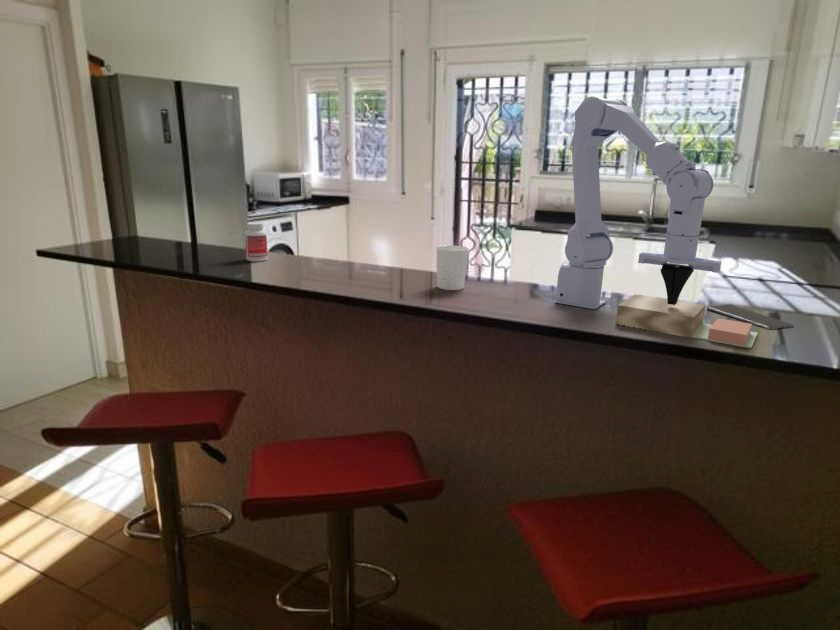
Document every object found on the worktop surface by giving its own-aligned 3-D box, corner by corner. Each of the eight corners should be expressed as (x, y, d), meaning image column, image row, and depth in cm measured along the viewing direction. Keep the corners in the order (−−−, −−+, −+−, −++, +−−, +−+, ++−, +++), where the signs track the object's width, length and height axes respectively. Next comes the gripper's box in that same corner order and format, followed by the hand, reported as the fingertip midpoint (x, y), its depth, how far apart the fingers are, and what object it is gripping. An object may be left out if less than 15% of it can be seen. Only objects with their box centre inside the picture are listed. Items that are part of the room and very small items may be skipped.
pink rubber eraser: (746, 334, 102) (744, 345, 103) (752, 323, 109) (750, 333, 110) (709, 328, 105) (707, 338, 106) (717, 318, 113) (716, 327, 113)
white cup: (428, 287, 143) (429, 247, 140) (448, 282, 149) (450, 244, 146) (452, 292, 138) (454, 251, 135) (472, 287, 143) (474, 248, 141)
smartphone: (770, 327, 114) (705, 306, 128) (768, 332, 114) (704, 310, 128) (795, 324, 116) (730, 304, 131) (794, 329, 117) (729, 308, 131)
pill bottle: (271, 260, 172) (269, 223, 169) (253, 262, 168) (250, 225, 165) (261, 257, 176) (259, 221, 173) (242, 259, 172) (240, 222, 169)
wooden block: (615, 324, 115) (617, 305, 114) (632, 312, 124) (634, 294, 123) (690, 338, 107) (693, 317, 106) (702, 323, 117) (705, 305, 116)
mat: (690, 337, 108) (691, 335, 108) (701, 324, 116) (702, 323, 116) (751, 348, 102) (751, 346, 102) (757, 334, 111) (758, 332, 111)
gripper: (637, 232, 110) (629, 301, 113) (721, 240, 102) (708, 314, 105) (647, 229, 115) (638, 294, 119) (727, 236, 107) (715, 306, 111)
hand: (672, 303), depth 113 cm, fingers closed
